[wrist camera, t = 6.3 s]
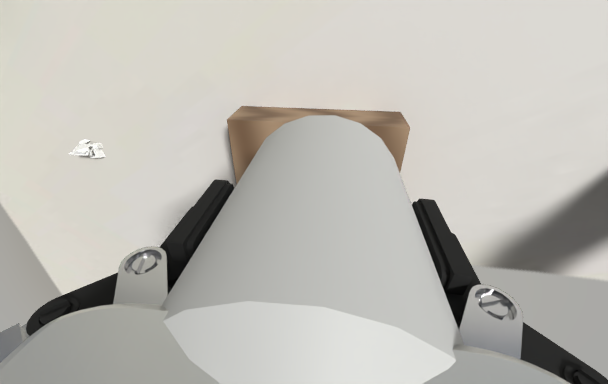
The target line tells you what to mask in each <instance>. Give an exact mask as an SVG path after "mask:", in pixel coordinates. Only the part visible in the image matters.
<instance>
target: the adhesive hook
mask: <svg viewBox="0 0 608 384" xmlns="http://www.w3.org/2000/svg"><path fill="white" fill-rule="evenodd" d="M89 141H90V140H86V139H83V140H82V141H80V142H79V145H78V146H76V147H75V148H74V149H73V151H72V152H70V153H69V154H70V155H81V156H89V157H90V158H101V157H106V156H105V154H104V153H103V151H102V150H101V148H103V145H102V143H94V144H86V143H87V142H89Z"/></svg>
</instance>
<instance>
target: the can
mask: <svg viewBox="0 0 608 384" xmlns="http://www.w3.org/2000/svg"><path fill="white" fill-rule="evenodd" d="M162 306H164V307H165V308H166V309H167V310H168V313H167V315H166V316H165V318H164V320H163V322H164V323H165V325H166V326H167V328H168V329H169V331H170V332H171V334H172V335H173V336H174V338H175V339H176V341H177V342H178V344H179V345H180V347H181V348H182V350H183V351H184V352H185V354H186V355H187V357H188V358H189V360H191V361H192V362H193V363H194V364H196V365H197V366H198V367H200V368H201V369H202V370H203V371H205V372H206V373H207V374H209V375H210V376H211V377H213V378H214V379H215V380H216V381H218V382H219V383H220V384H422V383H424V382H426V381H428V380H430V379H431V378H433V377H435V376H437V375H439V374H440V373H442V372H444V371H446V370H447V369H449V368H450V367H451V366H452V365H453V364H454V363H455V362H456V359H455V356H454V353H453V350H452V349H453V347H454V346H455V345H457V344H460V345H464V343H463V340H462V337H461V335H460V332H459V329H458V327H457V324H456V321H455V319H454V316H453V313H452V311H451V308H450V305H449V303H448V300H447V297H446V295H445V292H444V290H443V287H442V284H441V282H440V279H439V276H438V274H437V271H436V268H435V266H434V263H433V260H432V258H431V255H430V252H429V250H428V247H427V244H426V242H425V239H424V236H423V234H422V231H421V228H420V226H419V223H418V220H417V218H416V215H415V212H414V210H413V207H412V204H411V202H410V199H409V196H408V194H407V191H406V189H405V186H404V183H403V181H402V178H401V175H400V173H399V170H398V167H397V165H396V162H395V159H394V157H393V156H392V154H391V153H390V151H389V150H388V148H387V147H386V145H385V144H384V142H383V141H382V139H381V138H380V137H379V136H377V135H376V134H374V133H373V132H372V131H370V130H369V129H368V128H366V127H365V126H364V125H362V124H361V123H358V122H355V121H352V120H348V119H345V118H342V117H339V116H336V115H314V116H306V117H303V118H300V119H297V120H294V121H291V122H288V123H285V124H283V125H282V126H281V127H279V128H278V129H277V130H276V131H274V132H273V133H272V134H270V135H269V136H268V137H266V139H265V140H264V142H263V143H262V145H261V147H260V148H259V150H258V151H257V153H256V155H255V156H254V158H253V159H252V161H251V163H250V164H249V166H248V167H247V169H246V171H245V172H244V174H243V175H242V177H241V179H240V180H239V182H238V184H237V185H236V187H235V188H234V190H233V192H232V193H231V195H230V196H229V198H228V200H227V201H226V203H225V204H224V206H223V208H222V209H221V211H220V212H219V214H218V216H217V217H216V219H215V220H214V222H213V224H212V225H211V227H210V228H209V230H208V232H207V233H206V235H205V237H204V238H203V240H202V241H201V243H200V245H199V246H198V248H197V249H196V251H195V253H194V254H193V256H192V257H191V259H190V261H189V262H188V264H187V265H186V267H185V269H184V270H183V272H182V273H181V275H180V277H179V278H178V280H177V281H176V283H175V285H174V286H173V288H172V290H171V291H170V293H169V294H168V296H167V298H166V299H165V301H164V302H163V304H162Z"/></svg>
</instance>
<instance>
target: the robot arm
mask: <svg viewBox="0 0 608 384" xmlns="http://www.w3.org/2000/svg"><path fill="white" fill-rule="evenodd" d="M233 190H234V187H233V185H232V184H230V183H229V181H226V180H214V181H213V182H212V184H211V185H210V186H209V188H208V189H207V190H206V191H205V193H204V194H203V195H202V197H201V198H200V199H199V200H198V202H197V203H196V204H195V206H194V207H192V208H191V209H190V210H189V211H188V212H187V213H186V215H185V216H184V217H183V218H182V220H181V221H180V222H179V223H178V225H177V226H176V227H175V228H174V230H173V231H172V232H171V234H170V235H169V236H168V237H167V239H166V240H165V241H164V242H163V244H162V245H161V246H160V247H152V246H151V247H144V248H141V249H138V250H136V251H134V252H132V253H130V254H129V255H128V256H126V257H125V258H124V259H123V261H122V262H121V264H120V266H119V271H118V273H116V274H113V275H111V276H109V277H106V278H104V279H101V280H99V281H96V282H94V283H92V284H89V285H87V286H84V287H82V288H79V289H77V290H75V291H72V292H70V293H67V294H65V295H62V296H60V297H58V298H55V299H53V300H51V301H50V302H48V303H46V304H45V305H43V306H42V307H40V308H39V309H38V310H37V311H36V312H35V313H34V314H33V315H32V316H31V318H30V319H29V321H28V322H27V324H25V325H24V326H21V325H20V324H19V323H18V324H16V325H15V326H12V327H10V328H8V329H6V330H4V331H2V332H0V384H220V383H219V382H218V381H216V380H215V379H214V378H213V377H211V376H210V375H209V374H207V373H206V372H205V371H203V370H202V369H201V368H200V367H198V366H197V365H196V364H194V363H193V362H192V361H191V360H189V358H188V357H187V355H186V354H185V352H184V351H183V350H182V348H181V347H180V345H179V344H178V342H177V341H176V339H175V338H174V336H173V335H172V334H171V332H170V331H169V329H168V328H167V326H166V325H165V323H164V322H163V320H164V318H165V316H166V315H167V313H168V310H167V309H166V308H165V307H164V306H162V304H163V302H164V301H165V299H166V298H167V296H168V294H169V293H170V291H171V290H172V288H173V286H174V285H175V283H176V281H177V280H178V278H179V277H180V275H181V273H182V272H183V270H184V269H185V267H186V265H187V264H188V262H189V261H190V259H191V257H192V256H193V254H194V253H195V251H196V249H197V248H198V246H199V245H200V243H201V241H202V240H203V238H204V237H205V235H206V233H207V232H208V230H209V228H210V227H211V225H212V224H213V222H214V220H215V219H216V217H217V216H218V214H219V212H220V211H221V209H222V208H223V206H224V204H225V203H226V201H227V200H228V198H229V196H230V195H231V193H232V192H233ZM412 207H413V210H414V212H415V215H416V218H417V220H418V223H419V226H420V228H421V231H422V234H423V236H424V239H425V242H426V244H427V247H428V250H429V252H430V255H431V258H432V260H433V263H434V266H435V268H436V271H437V274H438V276H439V279H440V282H441V284H442V287H443V290H444V292H445V295H446V297H447V300H448V303H449V305H450V308H451V311H452V313H453V316H454V319H455V321H456V324H457V327H458V329H459V332H460V335H461V337H462V340H463V343H464V345H460V344H457V345H455V346H454V347H453V349H452V350H453V353H454V356H455V359H456V362H455V363H454V364H453V365H452V366H451V367H450V368H449V369H447V370H446V371H444V372H442V373H440V374H439V375H437V376H435V377H433V378H431V379H430V380H428V381H426V382H424V383H422V384H608V380H607V379H606V378H605V377H604V376H602V375H601V374H600V373H599V372H597V371H596V370H594V369H593V368H591V367H590V366H588V365H587V364H585V363H584V362H582V361H581V360H579V359H578V358H576V357H575V356H573V355H572V354H570V353H568V352H567V351H566V350H564V349H563V348H561V347H560V346H558V345H557V344H555V343H554V342H552V341H551V340H549V339H548V338H546V337H545V336H543V335H542V334H540V333H539V332H537V331H536V330H534V329H533V328H531V327H530V326H528V325H526V324H525V323H524V322H523V313H522V310H521V308H520V306H519V304H518V303H517V302H516V301H515V300H514V299H513V298H512V297H511V296H510V295H508V294H507V293H506V292H504V291H502V290H500V289H498V288H496V287H493V286H490V285H484V284H481V283H480V281H479V279H478V277H477V275H476V274H475V272H474V270H473V268H472V266H471V264H470V262H469V260H468V258H467V256H466V254H465V253H464V251H463V249H462V247H461V245H460V243H459V241H458V239H457V237H456V236H455V234H453V233H451V231H450V229H449V228H448V226H447V224H446V222H445V220H444V218H443V216H442V214H441V212H440V210H439V208H438V206H437V204H436V202H435V201H434V200H429V199H419V200H418V201H417V202H413V204H412Z"/></svg>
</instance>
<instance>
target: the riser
mask: <svg viewBox="0 0 608 384" xmlns="http://www.w3.org/2000/svg"><path fill="white" fill-rule="evenodd" d="M314 115H336V116H339V117H342V118H345V119H348V120H352V121H355V122H358V123H361V124H362V125H364V126H365V127H366V128H368V129H369V130H370V131H372V132H373V133H374V134H376V135H377V136H379V137H380V138H381V139H382V141H383V142H384V144H385V145H386V147H387V148H388V150H389V151H390V153H391V154H392V156H393V157H394V159H395V162H396V165H397V167H398V170H399V173H400V170H401V166H402V162H403V157H404V153H405V148H406V144H407V139H408V135H409V131H410V126H409V125H408V123H407V122H406V120H405V119H404V117H403V115H402V114H401V112H385V111H358V110H331V109H304V108H277V107H251V106H241V107H240V108H239V109H238V110H237V111H236V112H235V113H234V114H233V115H232V116H230V117H229V118H228V119H227V124H228V130H229V137H230V144H231V150H232V157H233V164H234V170H235V177H236V184H238V182H239V180H240V179H241V177H242V175H243V174H244V172H245V171H246V169H247V167H248V166H249V164H250V163H251V161H252V159H253V158H254V156H255V155H256V153H257V151H258V150H259V148H260V147H261V145H262V143H263V142H264V140H265V139H266V137H268V136H269V135H270V134H272V133H273V132H274V131H276V130H277V129H278V128H279V127H281V126H282V125H283V124H285V123H288V122H291V121H294V120H297V119H300V118H303V117H306V116H314Z"/></svg>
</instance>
